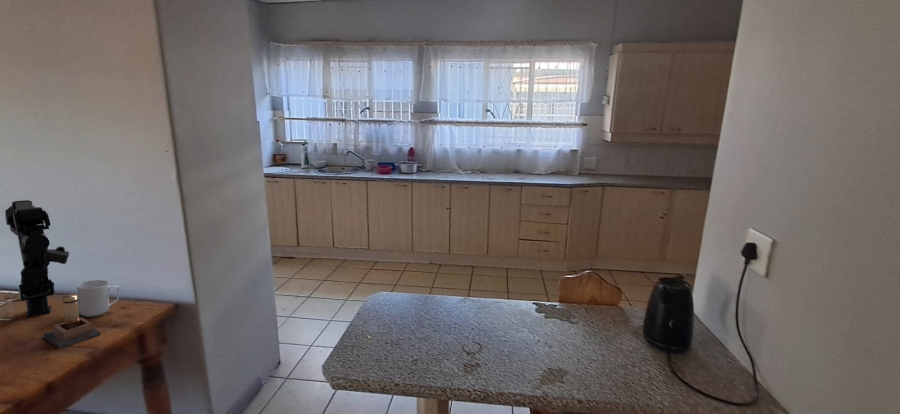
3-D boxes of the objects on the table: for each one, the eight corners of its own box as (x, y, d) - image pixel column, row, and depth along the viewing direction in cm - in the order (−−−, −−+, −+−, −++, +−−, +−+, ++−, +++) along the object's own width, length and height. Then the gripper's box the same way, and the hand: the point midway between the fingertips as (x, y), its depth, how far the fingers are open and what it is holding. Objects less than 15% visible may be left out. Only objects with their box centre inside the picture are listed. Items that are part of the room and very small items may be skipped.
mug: (75, 319, 154) (74, 289, 152) (80, 309, 161) (79, 280, 159) (118, 315, 160) (117, 286, 158) (121, 305, 167) (120, 278, 165)
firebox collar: (43, 337, 142) (41, 326, 141) (84, 324, 151) (83, 314, 150) (59, 348, 136) (57, 337, 135) (100, 334, 145) (99, 324, 145)
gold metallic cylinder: (68, 331, 144) (64, 294, 142) (82, 329, 146) (78, 293, 144) (65, 336, 141) (61, 298, 139) (79, 334, 143) (75, 297, 141)
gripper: (65, 248, 143) (70, 293, 146) (66, 235, 156) (71, 276, 160) (17, 253, 135) (24, 300, 139) (23, 239, 149) (29, 281, 152)
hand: (39, 288), depth 147 cm, fingers open, 9 cm apart
